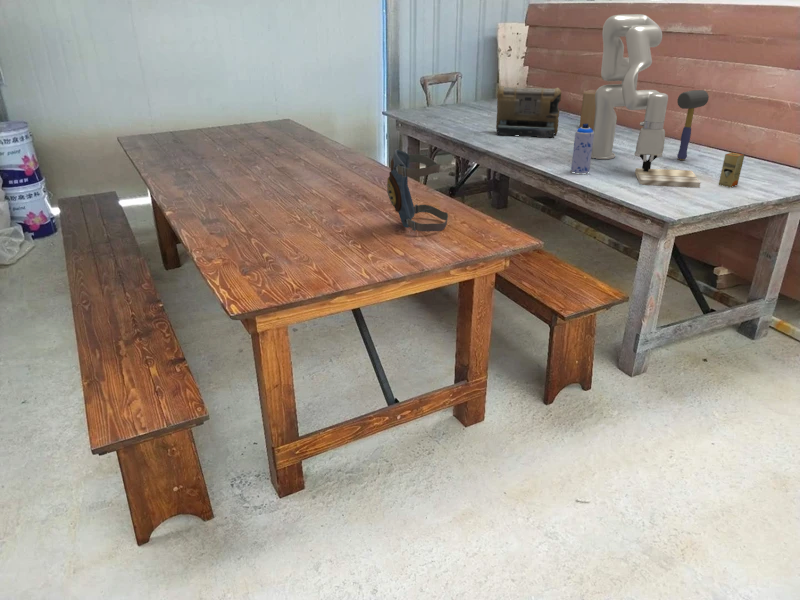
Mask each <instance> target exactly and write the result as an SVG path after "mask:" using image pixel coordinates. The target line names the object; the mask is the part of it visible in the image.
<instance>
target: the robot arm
mask: <svg viewBox="0 0 800 600" xmlns="http://www.w3.org/2000/svg"><path fill="white" fill-rule="evenodd" d="M621 37H625V42H626V50H627V56H628V57H624V54H625V53H624V50H625V44H624V42H623V41H622V38H621ZM662 40H663V30H662V29H661V27H660V26H659V24H658V23H657V22H655V21H654V20H653V19H652V18H650V17H649V16H648V15H646V14H642V13H641V14H639V13H638V14H635V13H633V14H630V13H629V14H628V13H627V14H626V13H625V14H624V13H623V14H614V15H611V16H609V17H608V18H607V19H606V20H605V21H604V23H603V26H602V45H603V49H602V50H603V51H602V58H601V59H602V60H601V69H600V71H601V72H600V76H601V79H602V80H603V81H606V82H620V81H621V83H618V84H617V83H614V84H612V83H611V84H610V83H609V84H604V85H601V86H599V87H598V88H597V89H596V90H597V91H596V93H595V106H596V108H595V120H594V128H593V131H594V138H593V146H592V154H591V159H594V158H596V160H612V159H614V158H616V154H615V153H614V152H613V148H614V141H615V134H616V126H617V118H618V117H617V113H616V111H615V109H614V108H616V107H626V109H628V110H629V111H638V110H639V111H640V110H641V111H642V110H645V113H644V120H643V121H639V126H641V128H640V131H639V135H638V137H637V141H636V145H635V151H634V156H635V157H636V158H637V157H638V158H640V159H641V160H642V164H641V165H642V167H641V168H642V169H643V170H644V171H647V172H648V170H649V169H651V166H652V162H653V161H654V160H656V159H658V158H662V157H663V153H664V147H665V138H666V129H664V124H665V119H666V113H667V112H666V111H667V107H668V102H669V95H668V94H667V93H664V92H659V91H658V90H656V89H639V90H637V86H638V77H639V73H640V72H642V71H644V70H646V69H648V68H650V66H651V65H652V63H653V58H652V52H651V48H656V47H658V46H659V45H660V44H661V43H662ZM648 156H649V157H648ZM647 157H648V159H647Z"/></svg>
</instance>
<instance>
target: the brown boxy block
mask: <svg viewBox="0 0 800 600" xmlns="http://www.w3.org/2000/svg"><path fill="white" fill-rule="evenodd" d="M496 94H497V102H496V105H497V106H496V112H497V113H496V125H495V128H496V135H497V134H498V135H497V136H505V135H519V136H537V137H536V138H551V137H552V138H555V136H557V134H558V129H559V116H560V109H559V108H560V107H559V103H560V102H561V100H562V90H561V89H560V88H559V87H556V88H543V87H542V88H540V87H539V88H538V87H517V86H516V87H509V86H507V87H506V86H504V85H500V86H499V87H498V89H497V93H496ZM554 133H555V134H554ZM519 136H518V137H519Z"/></svg>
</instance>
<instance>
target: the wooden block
mask: <svg viewBox="0 0 800 600" xmlns="http://www.w3.org/2000/svg"><path fill="white" fill-rule="evenodd" d="M596 91H597V89H588V90H585V91H583V95H582V103H581V109H580V110H581V112H580V120H579V128H581V127H583V124H589V126H588V127H590V128H591V129H592V130H593V128H594V120H595V108H596V106H595V93H596Z"/></svg>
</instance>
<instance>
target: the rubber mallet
mask: <svg viewBox="0 0 800 600" xmlns="http://www.w3.org/2000/svg"><path fill="white" fill-rule="evenodd" d="M709 98H710V97H709V94H708V92H707V91H706V90H704V89H699V90H697V89H696V90H688V91H684V92H681V93H680V94H679V96H678V97H677V106H678V107H679V108H680V109H683V110H685V109H688V110H687V114H686V119H685V123H684V127H683V129H682V132H681V136H680V145H679V149H678V153H677V160H678V161H679V160H680V161H685V160H686V159H687V158H688V148H689V143H690V139H691V135H692V123H693V117H694V112H695V109H697V108H700V107H701V108H702V107H704V106H706V105H707V104H708V102H709Z"/></svg>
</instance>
